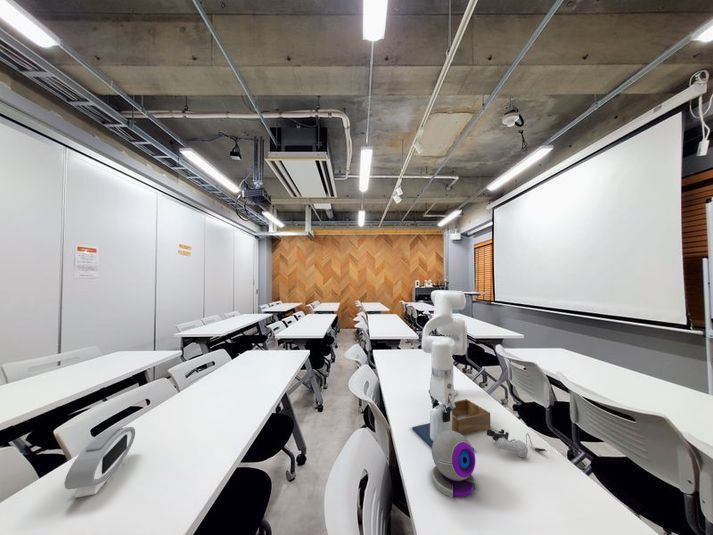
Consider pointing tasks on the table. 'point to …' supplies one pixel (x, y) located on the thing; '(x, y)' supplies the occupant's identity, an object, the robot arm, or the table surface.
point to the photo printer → (439, 421)
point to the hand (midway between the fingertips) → (441, 417)
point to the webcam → (453, 464)
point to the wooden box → (469, 418)
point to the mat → (425, 433)
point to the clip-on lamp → (510, 442)
